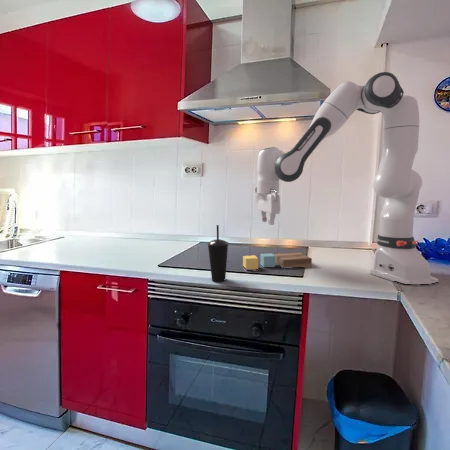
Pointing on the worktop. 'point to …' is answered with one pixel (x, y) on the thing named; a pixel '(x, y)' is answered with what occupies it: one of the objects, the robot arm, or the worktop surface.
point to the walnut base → (293, 260)
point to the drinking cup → (218, 258)
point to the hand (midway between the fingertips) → (267, 223)
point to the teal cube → (268, 260)
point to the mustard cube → (250, 262)
